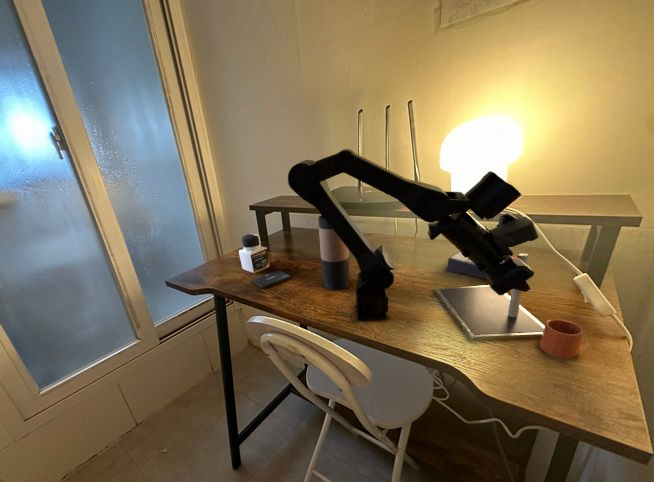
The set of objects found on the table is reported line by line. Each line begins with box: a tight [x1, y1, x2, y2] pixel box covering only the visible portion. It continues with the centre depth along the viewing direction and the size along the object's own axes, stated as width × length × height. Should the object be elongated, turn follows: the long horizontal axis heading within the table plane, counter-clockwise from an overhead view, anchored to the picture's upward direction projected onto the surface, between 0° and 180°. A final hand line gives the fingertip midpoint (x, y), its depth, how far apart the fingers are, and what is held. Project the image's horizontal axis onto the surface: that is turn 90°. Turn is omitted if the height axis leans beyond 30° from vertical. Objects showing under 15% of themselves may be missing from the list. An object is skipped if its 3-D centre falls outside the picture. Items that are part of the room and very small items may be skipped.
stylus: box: [508, 253, 529, 317], centre depth 60 cm, size 2×2×13 cm
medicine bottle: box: [238, 233, 270, 274], centre depth 104 cm, size 7×7×12 cm
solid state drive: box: [252, 269, 291, 289], centre depth 95 cm, size 7×10×1 cm
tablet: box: [434, 284, 545, 341], centre depth 66 cm, size 14×20×1 cm
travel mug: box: [317, 214, 350, 291], centre depth 83 cm, size 8×8×20 cm
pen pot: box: [539, 318, 586, 359], centre depth 52 cm, size 5×5×5 cm
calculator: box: [446, 251, 517, 280], centre depth 82 cm, size 11×4×15 cm
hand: (525, 287), depth 59 cm, fingers closed on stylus, 2 cm apart
